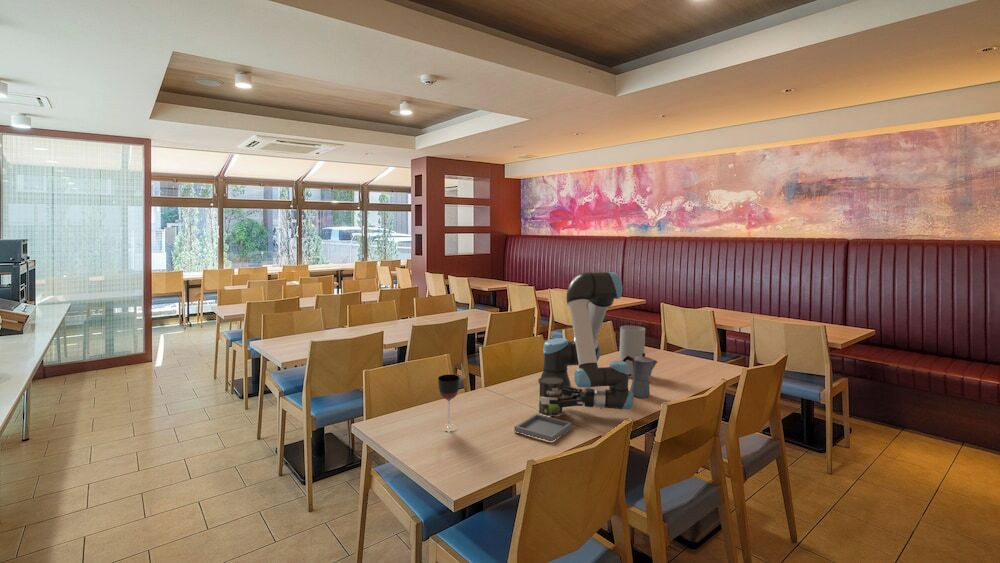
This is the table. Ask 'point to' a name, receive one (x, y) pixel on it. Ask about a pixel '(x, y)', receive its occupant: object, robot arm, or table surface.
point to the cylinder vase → (631, 344)
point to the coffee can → (550, 395)
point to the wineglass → (448, 389)
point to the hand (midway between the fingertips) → (542, 394)
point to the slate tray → (543, 427)
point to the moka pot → (641, 374)
